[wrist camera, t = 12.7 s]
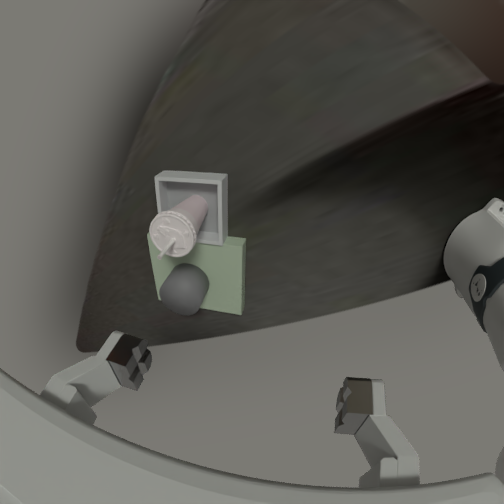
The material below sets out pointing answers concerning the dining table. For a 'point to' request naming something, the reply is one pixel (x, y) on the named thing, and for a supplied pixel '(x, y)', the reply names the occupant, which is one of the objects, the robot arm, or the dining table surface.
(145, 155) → the dining table surface
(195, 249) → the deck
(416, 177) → the dining table surface
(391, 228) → the dining table surface
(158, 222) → the smoothie
